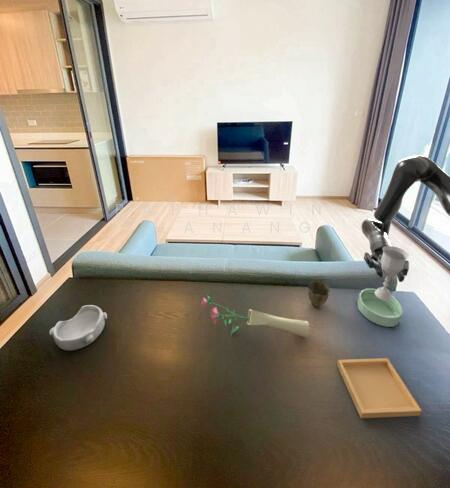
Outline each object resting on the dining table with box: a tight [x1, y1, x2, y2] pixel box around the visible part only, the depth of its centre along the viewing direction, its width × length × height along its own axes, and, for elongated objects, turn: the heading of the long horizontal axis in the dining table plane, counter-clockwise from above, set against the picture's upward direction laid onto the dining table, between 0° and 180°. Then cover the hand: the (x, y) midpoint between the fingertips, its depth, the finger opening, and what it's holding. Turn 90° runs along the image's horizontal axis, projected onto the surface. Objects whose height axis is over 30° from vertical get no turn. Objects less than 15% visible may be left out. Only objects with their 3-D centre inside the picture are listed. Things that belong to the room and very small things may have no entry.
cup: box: [307, 279, 331, 308], centre depth 90 cm, size 8×7×8 cm
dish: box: [49, 304, 108, 351], centre depth 79 cm, size 14×14×5 cm
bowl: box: [356, 287, 404, 328], centre depth 87 cm, size 13×13×4 cm
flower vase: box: [200, 292, 311, 339], centre depth 80 cm, size 12×12×35 cm
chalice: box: [374, 245, 410, 301], centre depth 82 cm, size 7×7×18 cm
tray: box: [336, 357, 423, 419], centre depth 65 cm, size 15×13×2 cm
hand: (391, 277), depth 79 cm, fingers closed on chalice, 5 cm apart
